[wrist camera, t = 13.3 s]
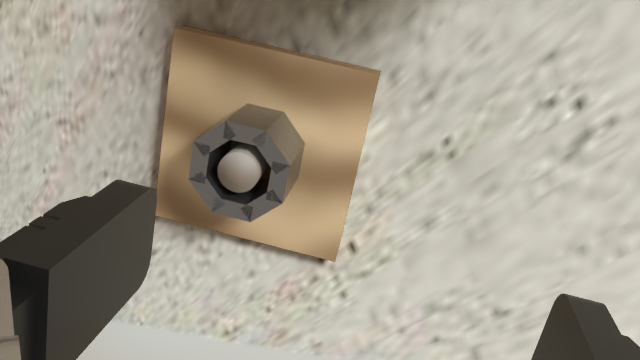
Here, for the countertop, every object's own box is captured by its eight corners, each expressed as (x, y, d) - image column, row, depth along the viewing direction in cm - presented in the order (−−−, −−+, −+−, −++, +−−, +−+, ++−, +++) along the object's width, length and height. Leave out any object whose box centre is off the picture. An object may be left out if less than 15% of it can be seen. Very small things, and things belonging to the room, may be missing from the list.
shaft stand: (182, 25, 41) (141, 35, 35) (380, 71, 40) (373, 89, 34) (161, 207, 46) (122, 243, 40) (337, 252, 45) (324, 296, 39)
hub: (222, 97, 41) (196, 113, 36) (310, 118, 41) (295, 137, 36) (210, 180, 43) (184, 205, 39) (293, 200, 43) (277, 229, 38)
